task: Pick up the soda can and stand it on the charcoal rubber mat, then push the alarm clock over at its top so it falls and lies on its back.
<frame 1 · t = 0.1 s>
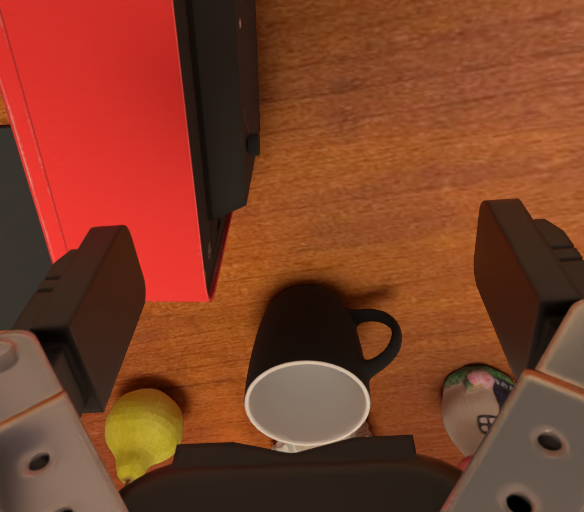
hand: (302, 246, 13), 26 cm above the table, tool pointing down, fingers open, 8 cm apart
fruit: (154, 396, 54), on the table
decorative ornament: (478, 388, 53), on the table
alarm clock: (190, 30, 35), on the table
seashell: (323, 435, 57), on the table
mug: (323, 306, 48), on the table
rubber mat: (11, 237, 44), on the table
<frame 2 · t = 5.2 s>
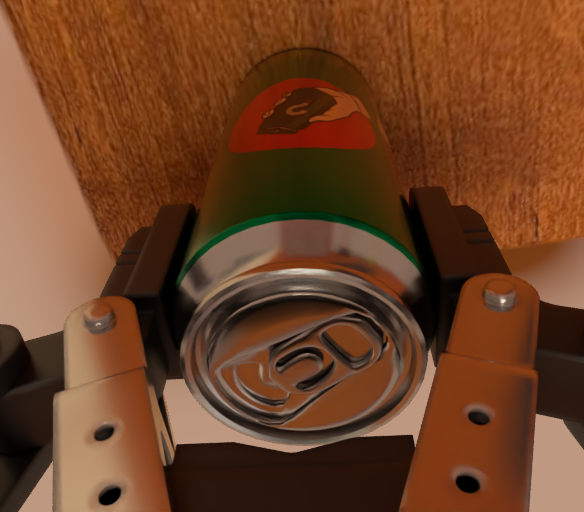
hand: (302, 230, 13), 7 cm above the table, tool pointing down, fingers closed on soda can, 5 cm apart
soda can: (304, 117, 20), on the table, touching gripper
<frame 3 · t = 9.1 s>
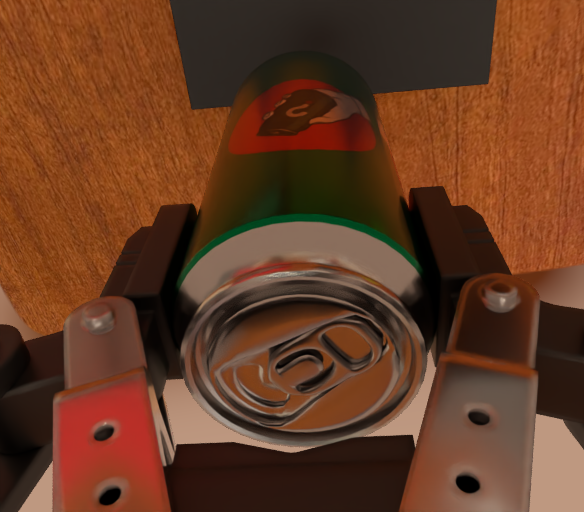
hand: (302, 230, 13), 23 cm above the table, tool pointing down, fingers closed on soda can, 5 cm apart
soda can: (304, 118, 20), point 15 cm above the table, touching gripper
when the fingers open (8 cm above the table, at t = 12.9 s): soda can stays where it is, resting on rubber mat.
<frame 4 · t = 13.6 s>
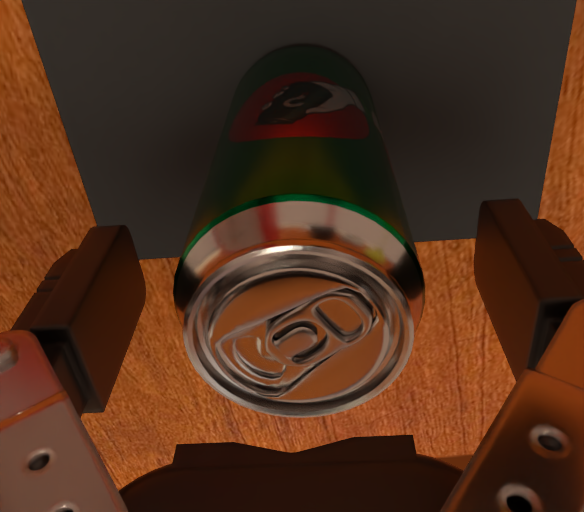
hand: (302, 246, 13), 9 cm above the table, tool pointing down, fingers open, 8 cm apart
soda can: (302, 111, 20), resting on rubber mat
rubber mat: (305, 105, 21), on the table
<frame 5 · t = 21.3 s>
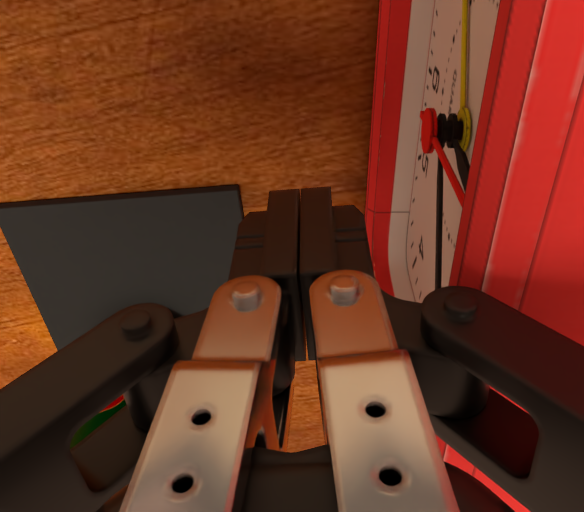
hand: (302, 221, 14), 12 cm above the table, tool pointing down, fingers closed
alarm clock: (484, 52, 23), on the table, touching gripper
soda can: (156, 336, 32), resting on rubber mat
rubber mat: (159, 332, 32), on the table
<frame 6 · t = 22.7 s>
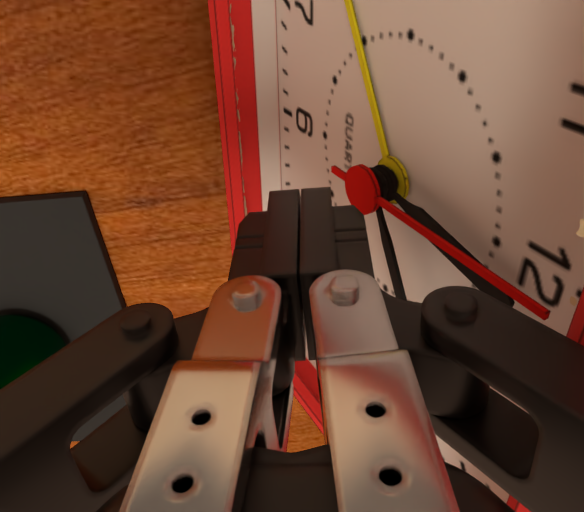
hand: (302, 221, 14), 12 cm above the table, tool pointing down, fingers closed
alarm clock: (316, 79, 22), point 2 cm above the table, touching gripper
soda can: (29, 339, 32), resting on rubber mat
rubber mat: (33, 335, 33), on the table
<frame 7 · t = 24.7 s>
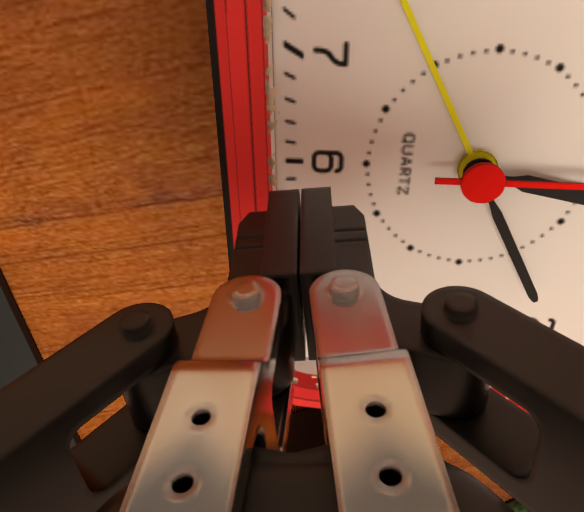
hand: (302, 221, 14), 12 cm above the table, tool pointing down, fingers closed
alarm clock: (235, 128, 21), point 4 cm above the table
mug: (348, 428, 37), on the table
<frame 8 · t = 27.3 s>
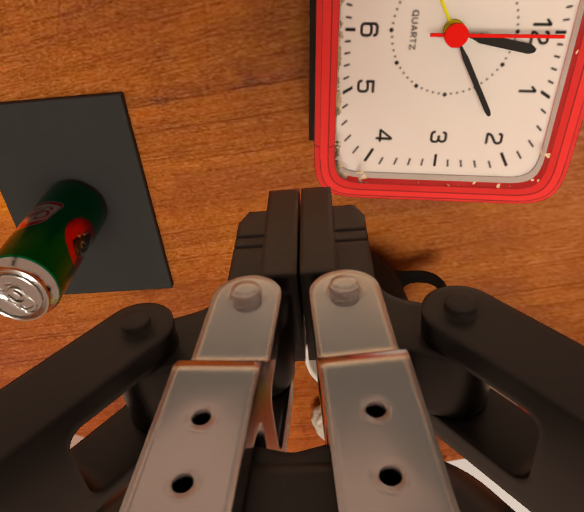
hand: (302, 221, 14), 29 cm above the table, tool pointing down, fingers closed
alarm clock: (311, 18, 34), point 4 cm above the table
mug: (369, 270, 51), on the table
soda can: (78, 204, 47), resting on rubber mat
rubber mat: (81, 203, 47), on the table
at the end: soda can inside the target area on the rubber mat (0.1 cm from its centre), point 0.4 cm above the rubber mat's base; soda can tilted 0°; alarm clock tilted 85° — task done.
